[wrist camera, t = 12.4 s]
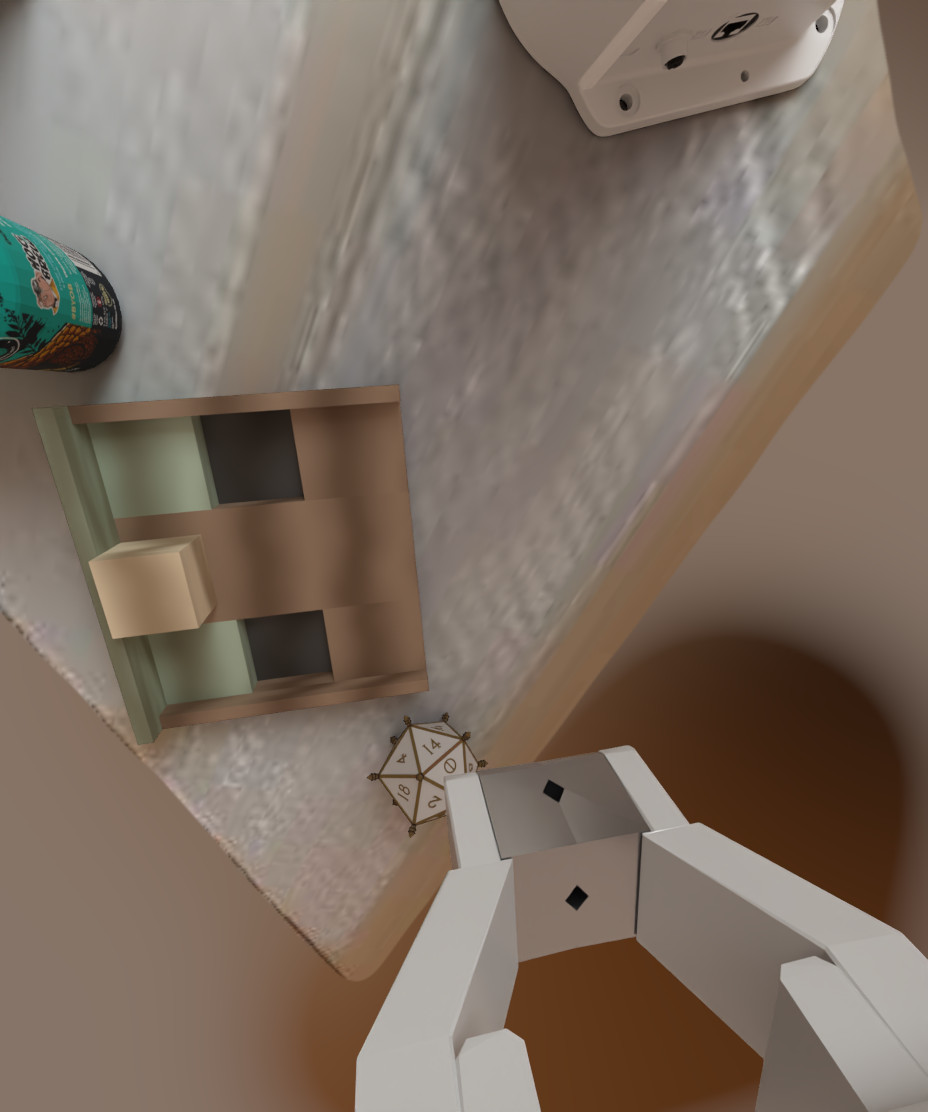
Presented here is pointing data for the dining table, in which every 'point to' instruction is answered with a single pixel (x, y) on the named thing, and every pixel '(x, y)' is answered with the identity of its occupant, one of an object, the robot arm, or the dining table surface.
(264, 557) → the box
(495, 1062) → the robot arm
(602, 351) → the dining table surface
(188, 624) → the beech block
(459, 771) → the game die
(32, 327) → the beverage can
